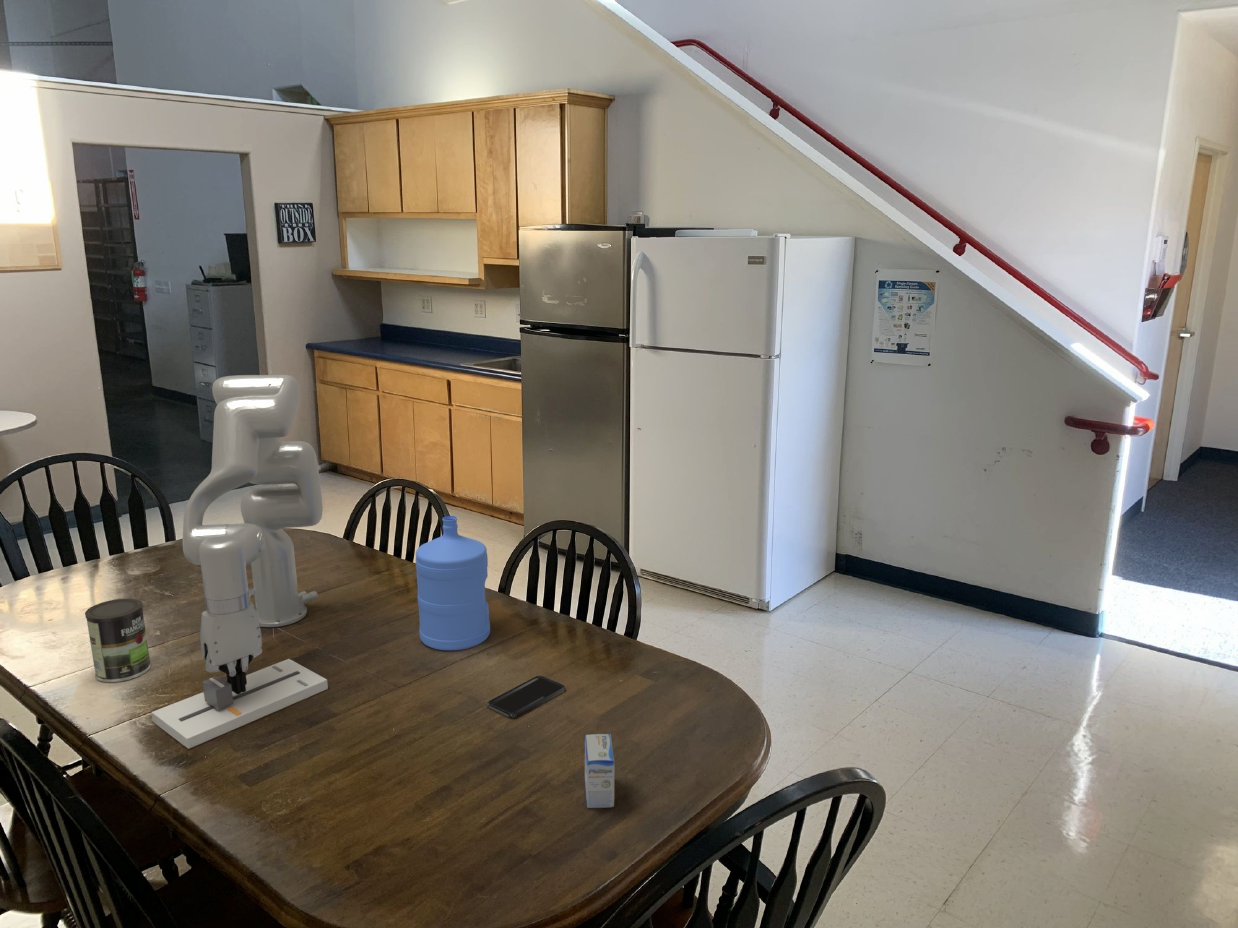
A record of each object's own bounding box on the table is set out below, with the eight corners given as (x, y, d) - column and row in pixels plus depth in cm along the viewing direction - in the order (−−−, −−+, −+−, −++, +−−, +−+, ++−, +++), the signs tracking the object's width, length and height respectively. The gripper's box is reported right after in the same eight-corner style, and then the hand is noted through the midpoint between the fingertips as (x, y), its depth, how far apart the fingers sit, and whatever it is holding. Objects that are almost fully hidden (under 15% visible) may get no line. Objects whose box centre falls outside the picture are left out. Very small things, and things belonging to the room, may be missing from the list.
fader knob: (220, 694, 173) (217, 674, 172) (233, 703, 170) (231, 683, 169) (204, 700, 171) (202, 680, 170) (217, 709, 168) (215, 689, 167)
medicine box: (584, 779, 151) (584, 733, 149) (611, 778, 151) (611, 732, 149) (586, 809, 143) (586, 761, 141) (614, 807, 144) (614, 759, 142)
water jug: (458, 658, 193) (452, 534, 186) (405, 641, 201) (397, 521, 194) (504, 631, 206) (500, 514, 199) (452, 616, 214) (447, 503, 207)
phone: (484, 703, 174) (539, 674, 185) (484, 708, 174) (539, 679, 185) (513, 716, 169) (567, 686, 180) (513, 722, 169) (567, 691, 180)
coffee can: (162, 661, 191) (153, 600, 188) (127, 685, 182) (117, 620, 178) (119, 657, 193) (110, 595, 190) (83, 680, 184) (72, 616, 180)
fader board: (289, 667, 189) (288, 657, 188) (327, 688, 180) (327, 678, 180) (152, 721, 168) (151, 711, 168) (188, 748, 160) (186, 737, 159)
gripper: (254, 584, 176) (264, 670, 181) (178, 609, 165) (189, 699, 170) (275, 594, 171) (284, 682, 176) (197, 620, 160) (209, 712, 165)
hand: (238, 690), depth 173 cm, fingers closed
